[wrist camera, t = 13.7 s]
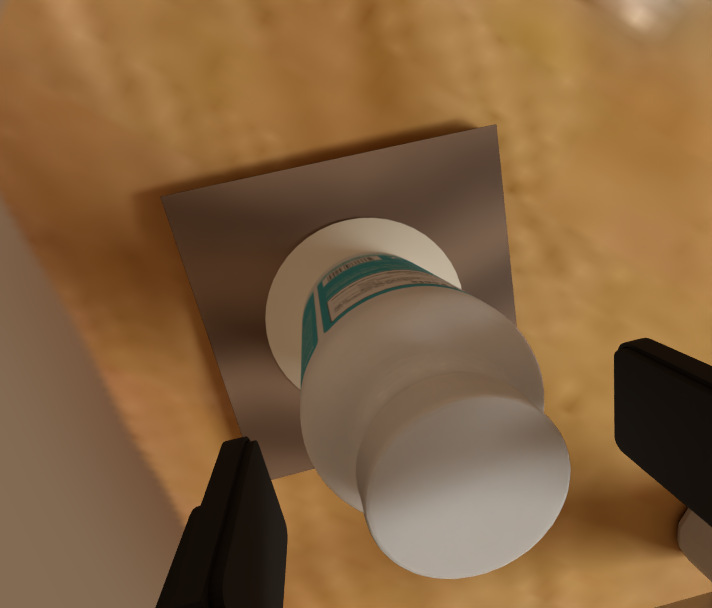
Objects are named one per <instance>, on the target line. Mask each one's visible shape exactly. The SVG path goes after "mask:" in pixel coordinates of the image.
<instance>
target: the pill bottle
mask: <svg viewBox="0 0 712 608" xmlns="http://www.w3.org/2000/svg"><path fill="white" fill-rule="evenodd" d="M543 412H544V388H543V381H542V375H541V372H540V368H539V364H538V362H537V360H536V357H535V355H534V353H533V351H532V349H531V347H530V345H529V344H528V342H527V340H526V339H525V337H524V336H523V335H522V333H521V332H520V331H519V330H518V329H517V328H516V327H515V325H514V324H513V323H512V322H511V321H510V320H509V319H507V318H506V317H505V316H504V315H503V314H501V313H500V312H499V311H497V310H496V309H495V308H493V307H491V306H490V305H488V304H486V303H485V302H483V301H481V300H479V299H478V298H476V297H474V296H472V295H471V294H469V293H467V292H465V291H463V290H462V289H460V288H458V287H456V286H454V285H452V284H451V283H449V282H447V281H445V280H443V279H442V278H440V277H438V276H436V275H434V274H433V273H431V272H429V271H427V270H425V269H424V268H422V267H420V266H418V265H416V264H414V263H412V262H410V261H408V260H406V259H404V258H402V257H399V256H396V255H393V254H389V253H383V252H365V253H359V254H355V255H352V256H349V257H347V258H344V259H342V260H340V261H338V262H337V263H335V264H334V265H332V266H331V267H330V268H328V269H327V270H326V271H325V272H324V273H323V274H322V275H321V276H320V277H319V278H318V280H317V281H316V282H315V283H314V285H313V287H312V288H311V290H310V292H309V294H308V296H307V299H306V302H305V305H304V309H303V316H302V349H301V388H300V421H301V429H302V435H303V440H304V444H305V447H306V450H307V453H308V455H309V458H310V460H311V462H312V464H313V466H314V467H315V469H316V471H317V473H318V474H319V476H320V477H321V478H322V479H323V481H324V482H325V483H326V485H327V486H328V487H329V488H330V489H331V490H332V491H333V492H334V493H335V494H336V495H337V496H338V497H339V498H341V499H342V500H343V501H344V502H346V503H347V504H349V505H350V506H352V507H354V508H355V509H357V510H359V511H361V512H363V513H364V515H365V519H366V522H367V525H368V528H369V531H370V533H371V535H372V537H373V539H374V541H375V542H376V544H377V545H378V547H379V548H380V549H381V550H382V551H383V553H385V554H386V555H387V556H388V557H389V558H390V559H391V560H392V561H394V562H395V563H396V564H398V565H399V566H401V567H403V568H405V569H406V570H408V571H411V572H413V573H416V574H419V575H422V576H427V577H432V578H441V579H459V578H466V577H472V576H477V575H481V574H485V573H488V572H490V571H492V570H495V569H498V568H500V567H503V566H505V565H506V564H508V563H510V562H512V561H514V560H515V559H517V558H518V557H520V556H521V555H523V554H524V553H525V552H527V551H528V550H530V549H531V548H532V547H533V546H534V545H535V544H536V543H537V542H538V541H539V540H540V539H541V538H542V537H543V536H544V535H545V533H546V532H547V531H548V530H549V529H550V527H551V526H552V525H553V523H554V522H555V520H556V518H557V516H558V515H559V513H560V511H561V509H562V506H563V504H564V502H565V499H566V496H567V492H568V488H569V481H570V471H571V468H570V460H569V454H568V450H567V447H566V444H565V441H564V439H563V438H562V436H561V434H560V432H559V430H558V429H557V427H556V426H555V425H554V424H553V422H552V421H551V420H550V419H549V417H548V416H547V415H545V414H544V413H543Z"/></svg>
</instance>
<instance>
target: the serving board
mask: <svg viewBox="0 0 712 608" xmlns="http://www.w3.org/2000/svg"><path fill="white" fill-rule="evenodd" d="M161 200H162V203H163V206H164V209H165V212H166V215H167V218H168V221H169V224H170V226H171V229H172V232H173V235H174V238H175V241H176V244H177V247H178V250H179V253H180V256H181V259H182V261H183V264H184V267H185V270H186V273H187V276H188V279H189V282H190V285H191V288H192V291H193V294H194V296H195V299H196V302H197V305H198V308H199V311H200V314H201V317H202V320H203V323H204V326H205V329H206V331H207V334H208V337H209V340H210V343H211V346H212V349H213V352H214V355H215V358H216V361H217V364H218V367H219V369H220V372H221V375H222V378H223V381H224V384H225V387H226V390H227V393H228V396H229V399H230V402H231V404H232V407H233V410H234V413H235V416H236V419H237V422H238V425H239V428H240V431H241V434H242V437H245V436H247V437H248V438H249V439H250V441H254V440H256V441H257V442H258V444H259V446H260V449H261V452H262V455H263V458H264V461H265V464H266V467H267V470H268V473H269V476H270V478H271V480H273V479H276V478H280V477H284V476H288V475H292V474H295V473H299V472H303V471H307V470H311V469H314V468H315V467H314V466H313V464H312V462H311V460H310V458H309V455H308V453H307V450H306V447H305V444H304V440H303V435H302V429H301V421H300V388H301V349H302V316H303V309H304V305H305V302H306V299H307V296H308V294H309V292H310V290H311V288H312V287H313V285H314V283H315V282H316V281H317V280H318V278H319V277H320V276H321V275H322V274H323V273H324V272H325V271H326V270H327V269H328V268H330V267H331V266H332V265H334V264H335V263H337V262H338V261H340V260H342V259H344V258H347V257H349V256H352V255H355V254H359V253H365V252H383V253H389V254H393V255H396V256H399V257H402V258H404V259H406V260H408V261H410V262H412V263H414V264H416V265H418V266H420V267H422V268H424V269H425V270H427V271H429V272H431V273H433V274H434V275H436V276H438V277H440V278H442V279H443V280H445V281H447V282H449V283H451V284H452V285H454V286H456V287H458V288H460V289H462V290H463V291H465V292H467V293H469V294H471V295H472V296H474V297H476V298H478V299H479V300H481V301H483V302H485V303H486V304H488V305H490V306H491V307H493V308H495V309H496V310H497V311H499V312H500V313H501V314H503V315H504V316H505V317H506V318H507V319H509V320H510V321H511V322H512V323H513V324H514V325H515V327H516V328H517V325H516V315H515V305H514V295H513V285H512V275H511V265H510V255H509V245H508V235H507V225H506V215H505V205H504V195H503V185H502V175H501V165H500V155H499V146H498V136H497V126H496V124H495V125H490V126H485V127H481V128H476V129H471V130H467V131H462V132H457V133H453V134H448V135H444V136H439V137H434V138H430V139H425V140H420V141H416V142H411V143H407V144H402V145H397V146H393V147H388V148H383V149H379V150H374V151H370V152H365V153H360V154H356V155H351V156H346V157H342V158H337V159H332V160H328V161H323V162H319V163H314V164H309V165H305V166H300V167H295V168H291V169H286V170H282V171H277V172H272V173H268V174H263V175H258V176H254V177H249V178H244V179H240V180H235V181H231V182H226V183H221V184H217V185H212V186H207V187H203V188H198V189H194V190H189V191H184V192H180V193H175V194H170V195H166V196H161Z"/></svg>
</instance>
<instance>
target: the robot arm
mask: <svg viewBox="0 0 712 608" xmlns="http://www.w3.org/2000/svg"><path fill="white" fill-rule="evenodd" d="M614 424H615V441H616V444H617V445H618V447H619V449H620V450H621V451H622V452H623V453H624V454H625V455H626V456H628V457H629V458H630V459H631V460H632V461H634V462H635V463H636V464H637V465H638V466H640V467H641V468H642V469H643V470H644V471H645V472H647V473H648V474H649V475H650V476H651V477H653V478H654V479H655V480H656V481H657V482H658V483H660V484H661V485H662V486H663V487H664V488H666V489H667V490H668V491H669V492H670V493H671V494H673V495H674V496H675V497H676V498H677V499H679V500H680V501H681V502H682V503H683V504H685V505H686V506H687V507H688V508H689V509H690V510H692V511H693V512H694V513H695V514H696V515H698V516H699V517H700V518H701V519H702V520H703V521H705V522H706V523H707V524H708V525H709V526H711V527H712V366H711V365H708V364H706V363H704V362H701V361H699V360H697V359H695V358H692V357H690V356H688V355H686V354H683V353H681V352H679V351H677V350H674V349H672V348H670V347H667V346H665V345H663V344H661V343H658V342H656V341H654V340H652V339H649V338H641V339H637V340H633V341H629V342H625V343H622V344H621V345H620V346H619V348H618V350H617V351H616V352H615V354H614ZM286 554H287V527H286V523H285V520H284V517H283V514H282V511H281V508H280V505H279V502H278V499H277V496H276V493H275V490H274V487H273V484H272V481H271V478H270V476H269V473H268V470H267V467H266V464H265V461H264V458H263V455H262V452H261V449H260V446H259V444H258V442H257V441H256V440H254V441H250V439H249V438H248V437H247V436H245V437H241V438H237V439H233V440H229V441H225V442H223V444H222V446H221V449H220V452H219V455H218V458H217V460H216V463H215V466H214V469H213V472H212V475H211V478H210V480H209V483H208V486H207V489H206V492H205V495H204V498H203V501H202V503H201V506H198V507H196V508H194V509H193V510H192V512H191V514H190V516H189V519H188V522H187V524H186V527H185V530H184V532H183V535H182V538H181V541H180V543H179V546H178V548H177V551H176V554H175V557H174V559H173V562H172V565H171V567H170V570H169V573H168V576H167V578H166V581H165V583H164V587H163V589H162V592H161V594H160V597H159V600H158V602H157V605H156V608H283V599H284V584H285V569H286ZM656 608H712V592H709V593H706V594H702V595H699V596H695V597H692V598H688V599H684V600H681V601H677V602H674V603H670V604H667V605H663V606H659V607H656Z"/></svg>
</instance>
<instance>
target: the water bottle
mask: <svg viewBox="0 0 712 608" xmlns="http://www.w3.org/2000/svg"><path fill="white" fill-rule="evenodd" d="M677 541H678V545H679V547H680V549H681V550H682V552H683V553H684V554H685V556H686V557H687V558H688V560H689V561H690V562H691V563H692V564H693V565H694V566H696V567H697V568H698V569H699V570H700V571H701V572H702V573H703V574H704V575H705V576H706V577H707V578H708V579H709V580H710V581H711V582H712V527H711V526H709V525H708V524H707V523H706V522H705V521H703V520H702V519H701V518H700V517H699V516H698V515H696V514H695V513H694V512H693V511H692V510H690V509H689V508H688V509H687V511H686V512H685V514H684V515H683V517H682V519H681V520H680V522H679V523H678V537H677Z"/></svg>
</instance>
